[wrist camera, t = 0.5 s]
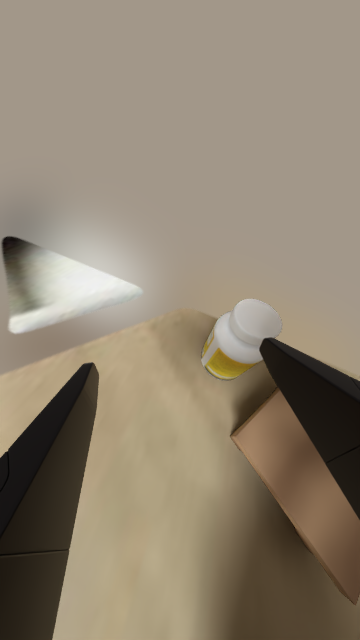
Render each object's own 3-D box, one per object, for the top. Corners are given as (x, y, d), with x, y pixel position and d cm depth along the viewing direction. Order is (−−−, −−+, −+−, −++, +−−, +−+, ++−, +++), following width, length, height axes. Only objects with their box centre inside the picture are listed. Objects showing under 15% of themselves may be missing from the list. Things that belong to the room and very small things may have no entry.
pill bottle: (243, 383, 23) (303, 353, 14) (199, 379, 23) (228, 344, 13) (238, 342, 27) (282, 296, 17) (199, 338, 27) (222, 288, 17)
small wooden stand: (361, 464, 20) (403, 471, 16) (311, 566, 15) (355, 605, 12) (279, 378, 24) (298, 370, 21) (223, 435, 20) (235, 436, 16)
